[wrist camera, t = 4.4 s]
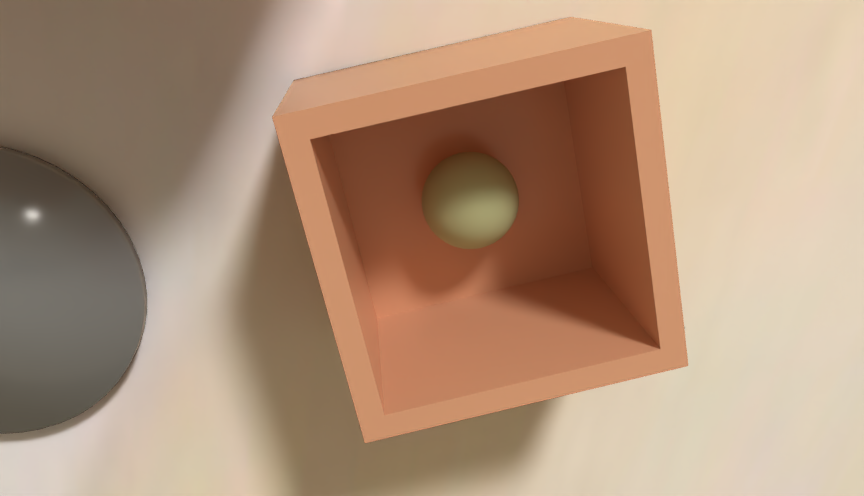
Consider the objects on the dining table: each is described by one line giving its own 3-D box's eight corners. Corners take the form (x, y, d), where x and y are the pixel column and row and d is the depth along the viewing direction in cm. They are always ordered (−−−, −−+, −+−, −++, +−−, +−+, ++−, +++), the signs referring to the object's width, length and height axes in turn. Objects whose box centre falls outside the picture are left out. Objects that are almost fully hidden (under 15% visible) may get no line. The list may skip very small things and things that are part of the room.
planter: (361, 332, 27) (364, 443, 21) (293, 80, 24) (272, 116, 18) (608, 273, 28) (688, 365, 21) (571, 16, 25) (651, 30, 18)
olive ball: (428, 241, 26) (438, 272, 23) (408, 154, 25) (416, 177, 22) (515, 220, 26) (535, 250, 23) (499, 133, 25) (518, 153, 22)
